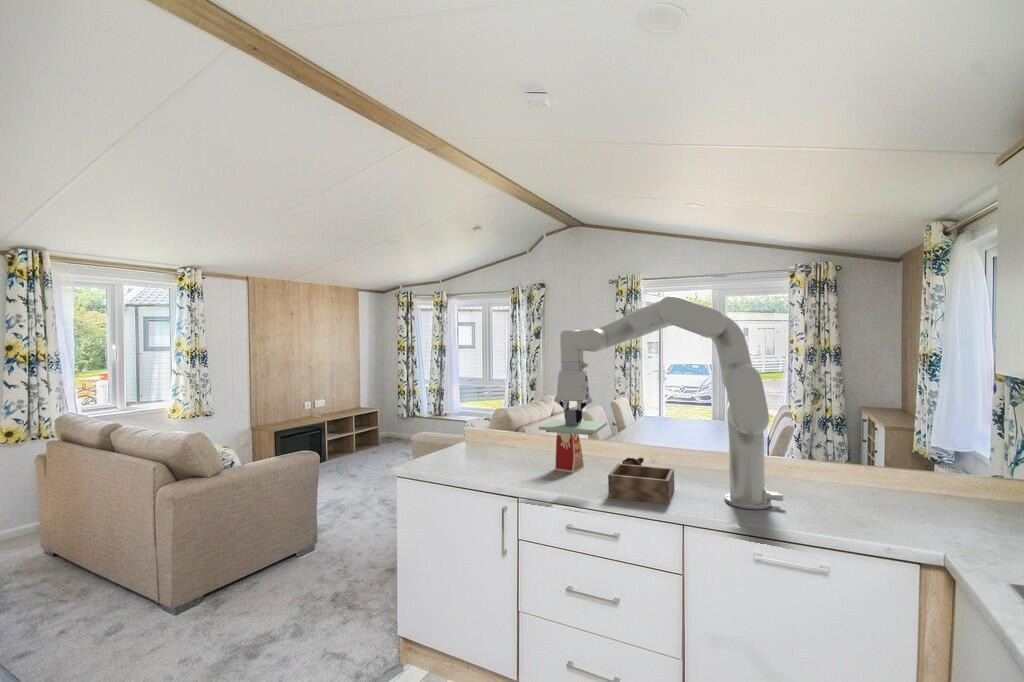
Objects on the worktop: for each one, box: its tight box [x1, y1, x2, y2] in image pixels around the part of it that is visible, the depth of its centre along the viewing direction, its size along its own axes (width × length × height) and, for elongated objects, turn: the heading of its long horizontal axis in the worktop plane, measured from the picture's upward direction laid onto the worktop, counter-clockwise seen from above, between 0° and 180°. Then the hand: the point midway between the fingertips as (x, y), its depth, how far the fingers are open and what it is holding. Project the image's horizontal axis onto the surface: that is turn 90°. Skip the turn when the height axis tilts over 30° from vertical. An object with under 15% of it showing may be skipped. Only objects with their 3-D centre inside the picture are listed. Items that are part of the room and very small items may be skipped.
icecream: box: [621, 457, 645, 466], centre depth 173 cm, size 7×7×15 cm
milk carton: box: [554, 433, 585, 474], centre depth 185 cm, size 9×9×20 cm
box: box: [607, 463, 675, 506], centre depth 151 cm, size 18×14×8 cm
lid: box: [538, 407, 608, 436], centre depth 160 cm, size 19×15×7 cm
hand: (573, 421), depth 160 cm, fingers closed on lid, 3 cm apart
